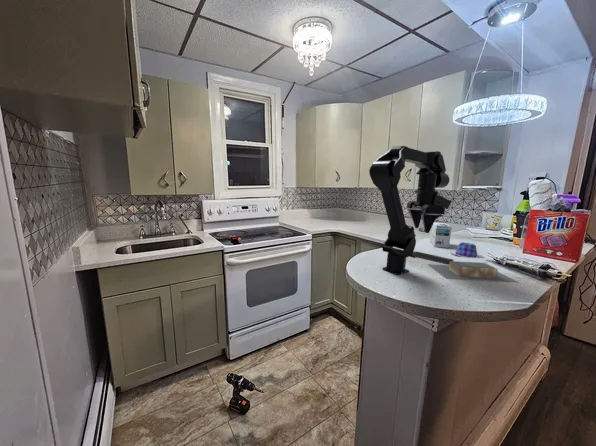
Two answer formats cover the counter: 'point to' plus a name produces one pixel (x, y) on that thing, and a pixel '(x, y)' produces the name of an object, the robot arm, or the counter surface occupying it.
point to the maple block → (473, 269)
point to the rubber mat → (450, 275)
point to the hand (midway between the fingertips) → (421, 230)
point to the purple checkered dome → (466, 250)
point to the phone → (431, 257)
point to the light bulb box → (440, 235)
